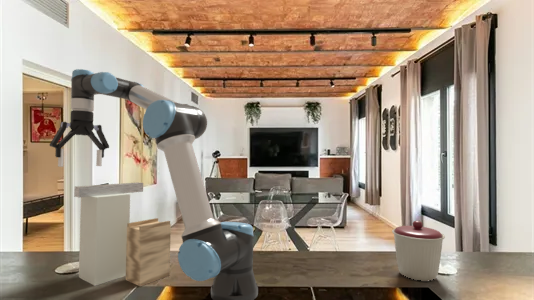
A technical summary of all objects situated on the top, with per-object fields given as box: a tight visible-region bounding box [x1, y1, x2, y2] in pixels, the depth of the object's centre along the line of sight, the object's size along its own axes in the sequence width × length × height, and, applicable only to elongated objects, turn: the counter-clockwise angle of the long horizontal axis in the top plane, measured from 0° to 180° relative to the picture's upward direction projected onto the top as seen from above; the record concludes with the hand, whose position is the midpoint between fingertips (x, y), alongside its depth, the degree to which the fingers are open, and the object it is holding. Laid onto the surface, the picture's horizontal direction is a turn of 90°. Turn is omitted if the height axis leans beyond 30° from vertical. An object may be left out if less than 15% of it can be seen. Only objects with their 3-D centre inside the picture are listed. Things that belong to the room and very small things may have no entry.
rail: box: [73, 182, 144, 198], centre depth 115 cm, size 4×24×4 cm, turn 144°
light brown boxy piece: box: [125, 217, 172, 287], centre depth 112 cm, size 9×12×20 cm
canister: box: [391, 220, 446, 282], centre depth 118 cm, size 18×18×21 cm
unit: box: [78, 193, 131, 287], centre depth 114 cm, size 12×12×30 cm
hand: (80, 166), depth 118 cm, fingers open, 13 cm apart
